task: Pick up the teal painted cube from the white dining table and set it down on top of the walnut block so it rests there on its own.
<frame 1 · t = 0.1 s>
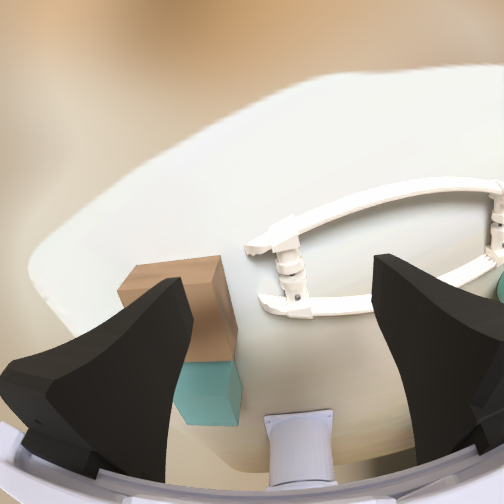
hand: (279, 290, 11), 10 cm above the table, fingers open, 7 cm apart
walnut block: (188, 297, 24), on the table
teal cube: (212, 371, 27), on the table
white curved loop: (408, 237, 21), on the table
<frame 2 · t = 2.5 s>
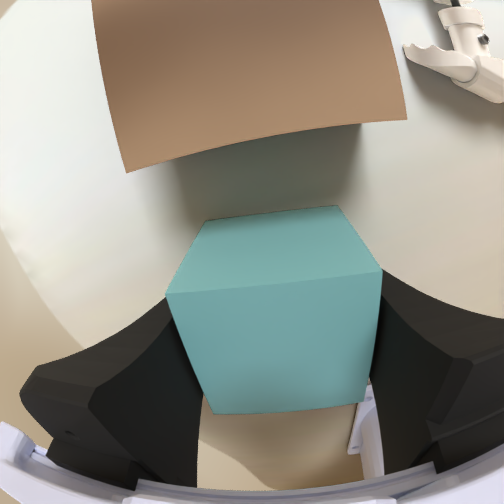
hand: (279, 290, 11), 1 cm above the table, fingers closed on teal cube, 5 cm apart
walnut block: (244, 42, 8), on the table
teal cube: (278, 271, 12), on the table, touching gripper
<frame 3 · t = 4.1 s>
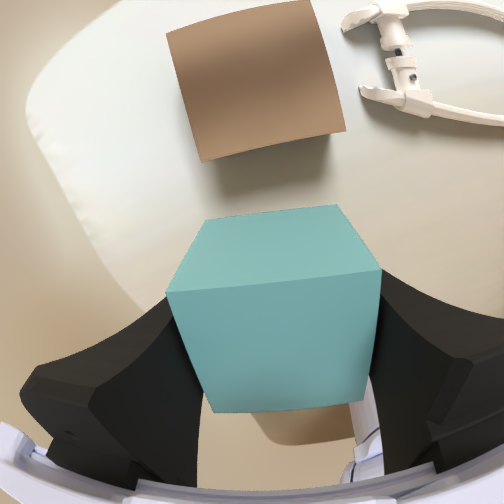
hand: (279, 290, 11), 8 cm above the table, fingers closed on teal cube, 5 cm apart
walnut block: (258, 84, 15), on the table
teal cube: (278, 270, 12), point 7 cm above the table, touching gripper
white curved loop: (491, 63, 12), on the table
when the fingers open (7 cm above the table, at t = 5.8 s): teal cube drops 2 cm, point 4 cm above the table.
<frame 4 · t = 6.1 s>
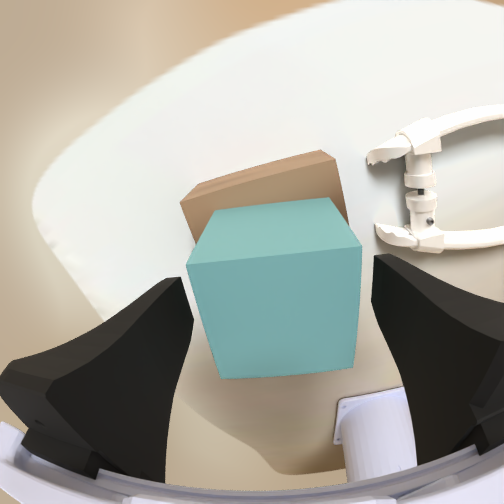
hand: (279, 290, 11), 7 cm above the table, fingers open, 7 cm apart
walnut block: (275, 222, 17), on the table
teal cube: (278, 255, 14), point 4 cm above the table
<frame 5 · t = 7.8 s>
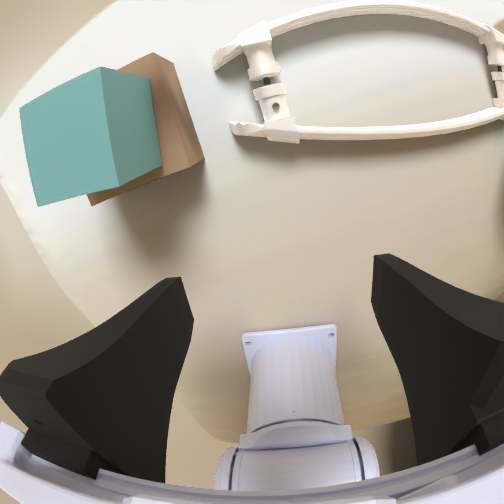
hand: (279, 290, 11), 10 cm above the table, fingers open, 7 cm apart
walnut block: (143, 128, 18), on the table
teal cube: (115, 131, 14), point 4 cm above the table
white curved loop: (401, 68, 15), on the table
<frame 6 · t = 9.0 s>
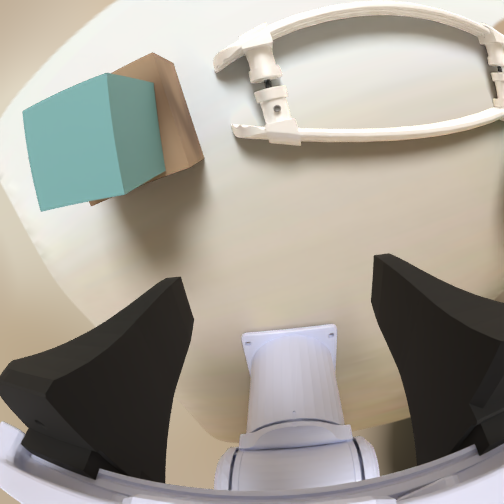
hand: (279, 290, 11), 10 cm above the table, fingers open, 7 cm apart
walnut block: (142, 128, 18), on the table
teal cube: (118, 135, 14), point 4 cm above the table
white curved loop: (402, 69, 15), on the table
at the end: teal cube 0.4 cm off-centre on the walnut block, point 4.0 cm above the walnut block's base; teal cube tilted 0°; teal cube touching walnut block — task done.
